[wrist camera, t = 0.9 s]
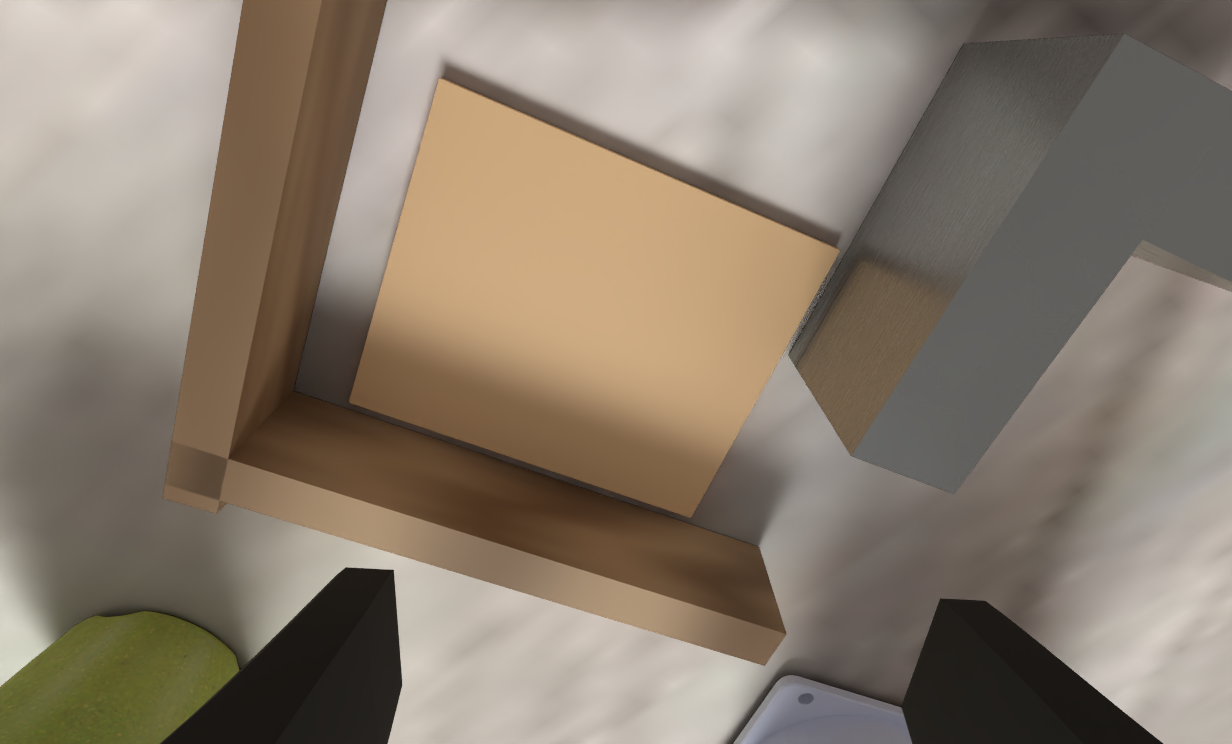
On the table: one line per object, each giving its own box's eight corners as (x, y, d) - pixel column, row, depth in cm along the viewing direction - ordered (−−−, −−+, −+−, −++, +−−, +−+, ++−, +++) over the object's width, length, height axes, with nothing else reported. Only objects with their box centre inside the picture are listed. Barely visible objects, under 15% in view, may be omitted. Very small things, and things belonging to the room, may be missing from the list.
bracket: (964, 43, 15) (1125, 33, 10) (1192, 159, 16) (1430, 198, 11) (788, 355, 18) (851, 456, 13) (989, 434, 19) (1112, 553, 14)
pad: (836, 247, 16) (840, 250, 16) (689, 511, 20) (690, 518, 19) (442, 77, 15) (438, 78, 15) (352, 397, 18) (348, 402, 18)
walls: (1006, 150, 16) (1105, 170, 12) (735, 585, 21) (757, 675, 18) (358, -163, 13) (281, -234, 10) (237, 425, 18) (162, 498, 15)
